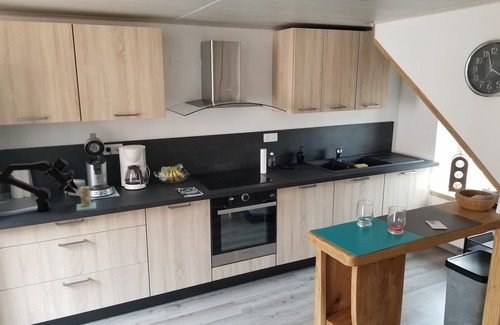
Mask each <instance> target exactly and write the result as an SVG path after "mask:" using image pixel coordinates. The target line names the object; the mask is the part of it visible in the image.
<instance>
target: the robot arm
mask: <svg viewBox="0 0 500 325" xmlns="http://www.w3.org/2000/svg"><path fill="white" fill-rule="evenodd" d="M68 165H69V162H67V160H65V159H63V158H61V157H59V158H58V159H57V160H56V161H55V162H50V161H48V160H43V161H42V160H41V161H38V162H31V163H30V162H29V163H11V164H9V165H8V166H7V168H5V170H3V171H1V172H0V184H3V185H11V186H13V187H16V188H18V189H21V190H23V191H26V192H28V193H31V194H33V195H34V196H35V197H36V199H35V203H36V207H37V211H36V213H42V212H49V211H50V209H51V208H50V207H51V206H50V202H49V200H48V199H49V198H50V197H51V194H52V192H51V190H50V189H49V188H47V187H45V186H42V185H41V186H40V187H38V186H37V187H36V186H35V185H32V184H29V183H27V182H25V181H22V180H20V179H17V178H15V177H14V176H13V175H12V173H13V172H14V171H32V170H33V171H38V172H44V177H47V176H49V177H50V178H52V179H54V182H57V183H58V184H59V186H58V189H59V190H60V191H61V192H62V191H63V192H67V193H68V192H71V193H76V191H75V190H74V189H77V190H78V189H79V188H78V187H77V185H76V184H75V183H74V180H75V178H74V176H75V175H76V173H75V171H74V170H73V169H67V172H66V173H64V172H61V171H64V170H65V168H67V166H68ZM73 188H74V189H73Z"/></svg>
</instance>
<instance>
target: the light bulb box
mask: <svg viewBox="0 0 500 325" xmlns="http://www.w3.org/2000/svg"><path fill="white" fill-rule="evenodd" d="M74 183H75V184H76V185H77V187H78V188H79V189H78V190H77V189H74V188H73V189H74V190H75V191H76V193H71V192H67V194H68V196H75V197H76V196H77V197H81V195H80V188H81V187H83V186H86V182H85V179H74Z"/></svg>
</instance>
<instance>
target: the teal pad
mask: <svg viewBox="0 0 500 325" xmlns="http://www.w3.org/2000/svg"><path fill="white" fill-rule="evenodd" d="M96 209H97V203H96V201H95V202H91V205H90V207H82V205H81V203H77V204H76V212H80V211H87V210H88V211H89V210H96Z"/></svg>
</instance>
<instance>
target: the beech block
mask: <svg viewBox="0 0 500 325" xmlns="http://www.w3.org/2000/svg"><path fill="white" fill-rule="evenodd" d="M90 192H91V190H90V185H85V186H83V187H81V188H80V195H81V196H80V204H81V205H82V207H90V205H91V203H92V201H91V193H90Z"/></svg>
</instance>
